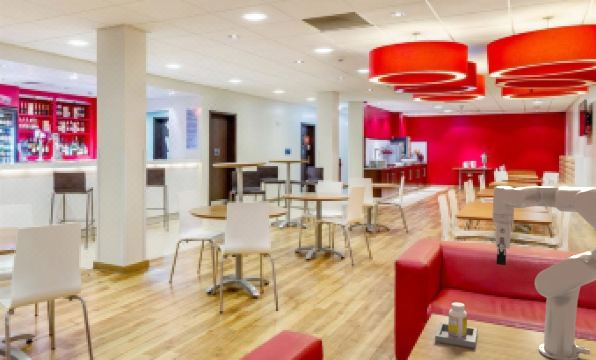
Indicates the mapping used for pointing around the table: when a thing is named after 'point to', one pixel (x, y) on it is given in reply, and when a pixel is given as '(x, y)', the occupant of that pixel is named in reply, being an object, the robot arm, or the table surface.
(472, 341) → the tray
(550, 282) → the robot arm
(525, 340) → the table surface
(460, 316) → the supplement bottle
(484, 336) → the table surface
